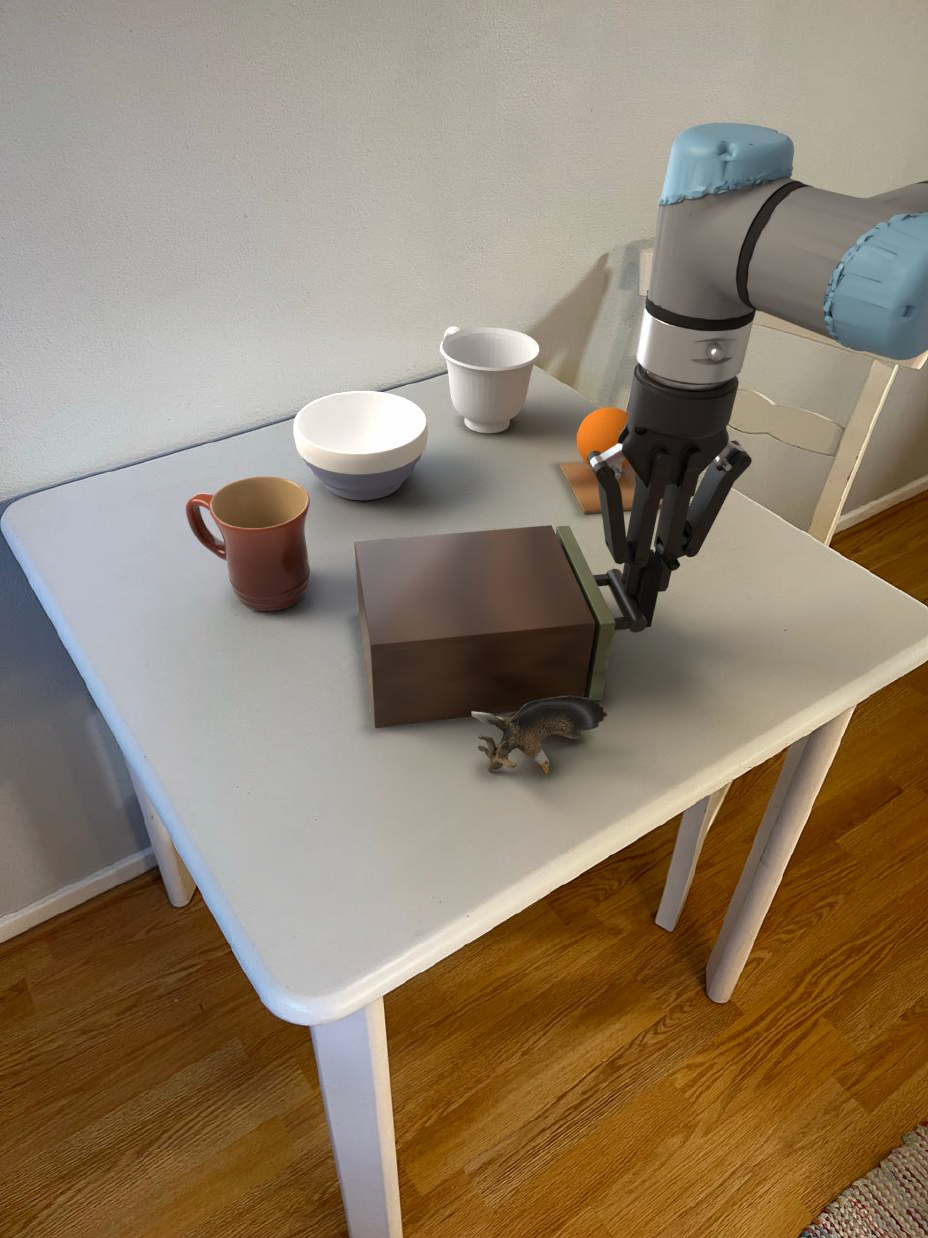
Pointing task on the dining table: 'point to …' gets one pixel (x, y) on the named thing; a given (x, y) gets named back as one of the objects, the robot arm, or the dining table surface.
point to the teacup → (488, 374)
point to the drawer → (600, 610)
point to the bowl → (361, 442)
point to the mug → (258, 538)
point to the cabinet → (470, 623)
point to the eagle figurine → (539, 727)
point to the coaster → (587, 486)
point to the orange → (601, 431)
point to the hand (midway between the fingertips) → (637, 617)
